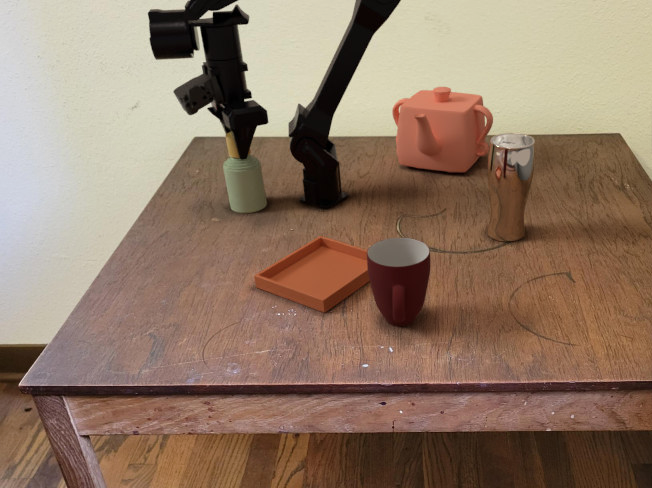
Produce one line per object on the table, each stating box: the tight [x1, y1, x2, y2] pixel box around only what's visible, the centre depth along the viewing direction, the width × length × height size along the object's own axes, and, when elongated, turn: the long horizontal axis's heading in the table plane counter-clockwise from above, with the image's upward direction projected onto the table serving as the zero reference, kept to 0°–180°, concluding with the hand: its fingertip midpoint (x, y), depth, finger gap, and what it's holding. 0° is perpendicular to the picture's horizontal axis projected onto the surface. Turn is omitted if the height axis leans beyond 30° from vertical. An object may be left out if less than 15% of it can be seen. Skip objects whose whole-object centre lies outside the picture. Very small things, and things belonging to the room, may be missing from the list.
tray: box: [253, 235, 370, 313], centre depth 105 cm, size 15×13×2 cm
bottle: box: [222, 154, 268, 214], centre depth 123 cm, size 6×6×12 cm
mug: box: [367, 237, 431, 327], centre depth 92 cm, size 11×8×10 cm
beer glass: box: [486, 132, 536, 243], centre depth 110 cm, size 7×7×15 cm
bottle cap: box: [225, 132, 252, 158], centre depth 120 cm, size 4×4×3 cm
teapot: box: [391, 86, 494, 174], centre depth 133 cm, size 20×19×14 cm
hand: (239, 155), depth 121 cm, fingers closed on bottle cap, 3 cm apart
